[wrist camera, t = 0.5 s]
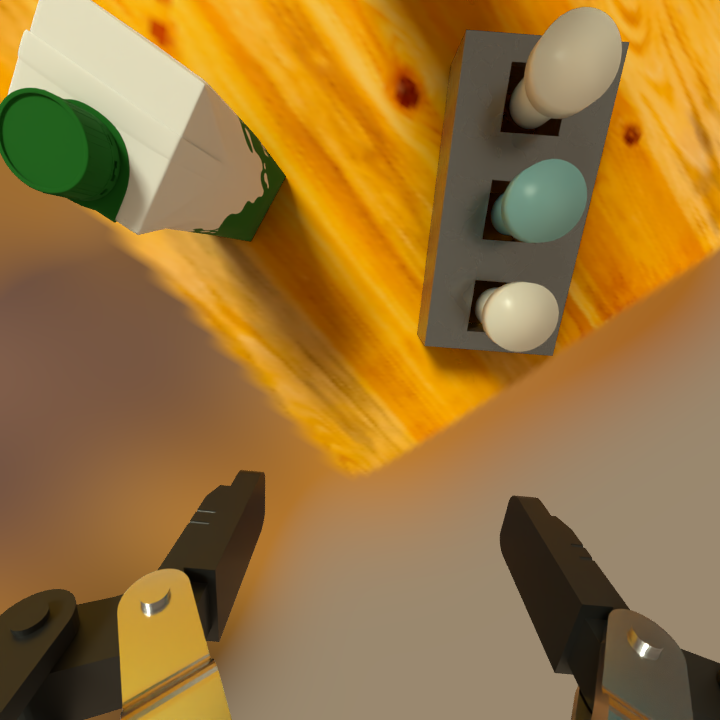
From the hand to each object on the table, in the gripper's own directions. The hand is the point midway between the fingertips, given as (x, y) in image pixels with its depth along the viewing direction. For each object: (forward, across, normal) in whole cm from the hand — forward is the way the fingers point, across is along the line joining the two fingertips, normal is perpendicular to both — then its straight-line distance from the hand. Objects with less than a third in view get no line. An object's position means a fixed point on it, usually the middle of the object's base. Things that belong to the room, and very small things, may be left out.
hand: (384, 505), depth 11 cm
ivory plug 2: (+23, -10, -20) cm, 32 cm away
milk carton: (+27, +14, -12) cm, 33 cm away
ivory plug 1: (+22, -11, -4) cm, 25 cm away
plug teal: (+23, -11, -12) cm, 28 cm away
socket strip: (+27, -11, -12) cm, 31 cm away
